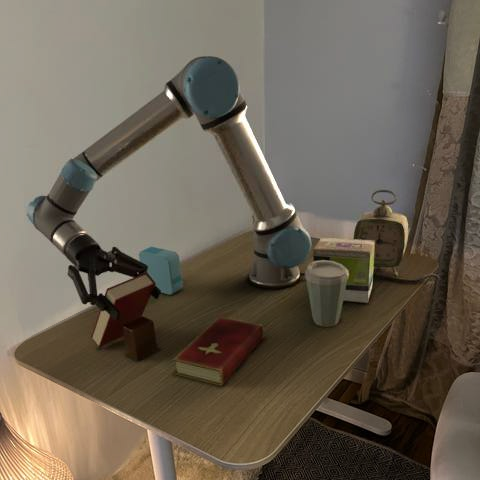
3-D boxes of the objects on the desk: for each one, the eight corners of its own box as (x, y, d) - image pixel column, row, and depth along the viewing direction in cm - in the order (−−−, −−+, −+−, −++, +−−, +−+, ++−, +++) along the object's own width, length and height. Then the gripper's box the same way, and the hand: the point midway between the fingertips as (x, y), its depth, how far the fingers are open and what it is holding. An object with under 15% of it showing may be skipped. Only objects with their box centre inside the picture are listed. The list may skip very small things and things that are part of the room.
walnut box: (157, 350, 124) (153, 320, 120) (137, 360, 120) (132, 331, 116) (147, 344, 126) (142, 315, 122) (127, 355, 122) (121, 325, 118)
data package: (183, 290, 153) (178, 252, 147) (173, 296, 150) (168, 257, 144) (153, 282, 159) (148, 245, 153) (143, 288, 156) (137, 250, 150)
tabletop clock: (351, 275, 156) (355, 192, 144) (357, 263, 163) (362, 184, 151) (401, 280, 150) (409, 195, 139) (405, 268, 158) (413, 186, 146)
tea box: (372, 289, 146) (376, 239, 139) (367, 304, 138) (371, 252, 131) (320, 284, 151) (321, 235, 144) (312, 298, 143) (312, 248, 136)
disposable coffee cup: (352, 315, 133) (355, 261, 126) (339, 335, 125) (341, 278, 118) (313, 308, 138) (314, 256, 131) (298, 327, 130) (298, 271, 122)
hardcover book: (263, 339, 125) (263, 324, 123) (222, 386, 109) (221, 369, 107) (220, 330, 130) (219, 315, 128) (175, 374, 114) (172, 358, 112)
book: (156, 283, 117) (147, 272, 118) (116, 300, 110) (106, 288, 111) (135, 330, 132) (127, 319, 133) (99, 347, 125) (90, 337, 126)
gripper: (114, 241, 132) (172, 295, 127) (32, 275, 117) (94, 339, 111) (118, 218, 127) (179, 274, 121) (33, 251, 111) (99, 317, 106)
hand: (139, 305), depth 116 cm, fingers closed on book, 11 cm apart
